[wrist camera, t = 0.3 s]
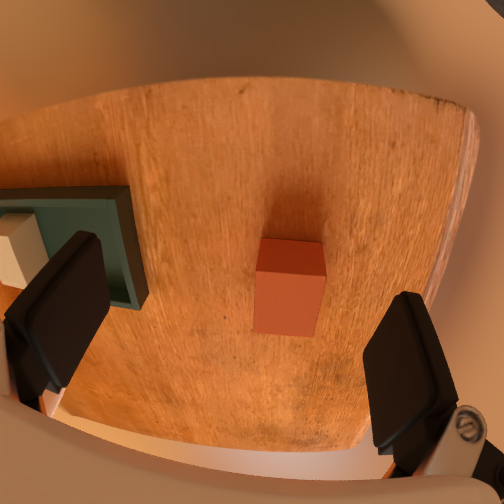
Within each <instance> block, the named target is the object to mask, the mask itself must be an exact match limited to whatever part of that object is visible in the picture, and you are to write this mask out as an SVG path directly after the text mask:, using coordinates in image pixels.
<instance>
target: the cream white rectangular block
mask: <svg viewBox="0 0 504 504" xmlns="http://www.w3.org/2000/svg"><path fill="white" fill-rule="evenodd" d="M48 261H49V258H48V255H47V252H46V249H45V246H44V243H43V240H42V237H41V234H40V231H39V227H38V224H37V221H36V217H35V214H34V213H6V214H5V215H3V216H2V217H1V218H0V280H1V282H2V284H4V285H8V286H12V287H16V288H21V289H25V287H26V286H27V285H28V284H29V283H30V282H31V280H32V279H33V278H34V277H35V276H36V275H37V273H38V272H39V271H40V270H41V269H42V268H43V267H44V266H45V264H46V263H47V262H48Z"/></svg>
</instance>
